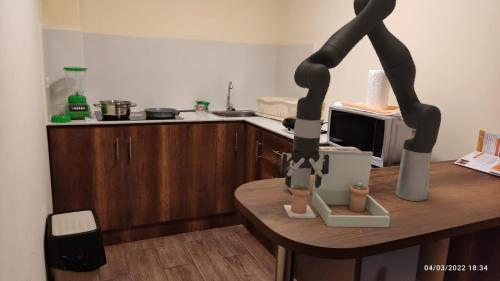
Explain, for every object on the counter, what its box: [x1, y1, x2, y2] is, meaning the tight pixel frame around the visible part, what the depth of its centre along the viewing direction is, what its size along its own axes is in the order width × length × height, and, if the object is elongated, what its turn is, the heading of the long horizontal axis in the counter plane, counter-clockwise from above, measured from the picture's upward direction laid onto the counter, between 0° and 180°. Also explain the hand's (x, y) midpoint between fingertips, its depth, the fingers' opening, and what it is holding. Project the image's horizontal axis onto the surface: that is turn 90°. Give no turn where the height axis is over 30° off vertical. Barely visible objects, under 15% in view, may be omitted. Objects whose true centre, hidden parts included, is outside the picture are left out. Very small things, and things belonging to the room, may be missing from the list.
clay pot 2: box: [348, 182, 370, 213], centre depth 116 cm, size 6×6×9 cm
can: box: [287, 160, 312, 193], centre depth 128 cm, size 8×8×12 cm
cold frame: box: [311, 150, 391, 228], centre depth 110 cm, size 18×17×18 cm
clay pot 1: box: [290, 182, 311, 214], centre depth 110 cm, size 6×6×9 cm
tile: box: [283, 204, 317, 219], centre depth 111 cm, size 8×8×1 cm
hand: (302, 187), depth 110 cm, fingers open, 8 cm apart
